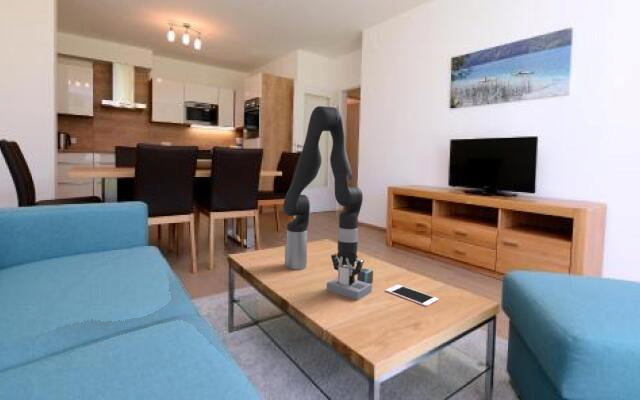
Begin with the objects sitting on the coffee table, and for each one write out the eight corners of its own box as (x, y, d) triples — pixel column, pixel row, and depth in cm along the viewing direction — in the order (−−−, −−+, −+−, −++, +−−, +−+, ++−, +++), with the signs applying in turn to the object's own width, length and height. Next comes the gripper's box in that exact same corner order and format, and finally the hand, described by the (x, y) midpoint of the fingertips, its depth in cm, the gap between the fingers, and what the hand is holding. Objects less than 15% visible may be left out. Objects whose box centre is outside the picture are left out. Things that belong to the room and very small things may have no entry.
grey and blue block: (357, 282, 141) (357, 270, 141) (362, 279, 145) (362, 267, 144) (367, 285, 138) (368, 273, 138) (372, 282, 142) (373, 270, 141)
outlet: (326, 290, 132) (326, 282, 132) (341, 282, 140) (341, 275, 140) (357, 300, 124) (358, 291, 123) (371, 291, 132) (371, 284, 131)
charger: (338, 284, 132) (339, 266, 131) (344, 281, 135) (345, 264, 134) (347, 287, 130) (348, 269, 129) (353, 284, 133) (354, 266, 132)
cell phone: (397, 286, 139) (397, 284, 139) (439, 301, 126) (439, 298, 126) (384, 292, 133) (384, 289, 133) (426, 308, 120) (426, 305, 120)
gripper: (326, 237, 131) (325, 281, 134) (358, 244, 123) (356, 290, 125) (338, 234, 137) (336, 275, 140) (369, 240, 129) (367, 284, 131)
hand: (346, 282), depth 132 cm, fingers closed on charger, 4 cm apart
